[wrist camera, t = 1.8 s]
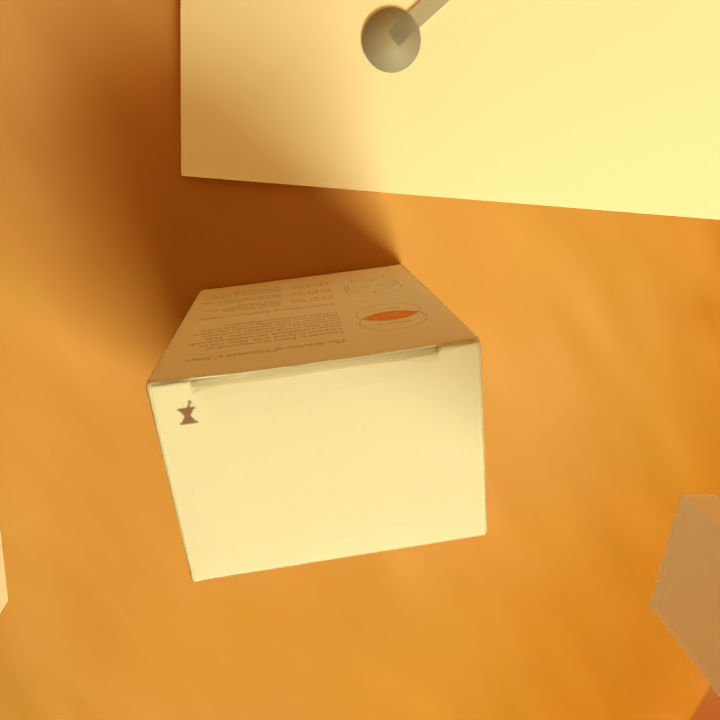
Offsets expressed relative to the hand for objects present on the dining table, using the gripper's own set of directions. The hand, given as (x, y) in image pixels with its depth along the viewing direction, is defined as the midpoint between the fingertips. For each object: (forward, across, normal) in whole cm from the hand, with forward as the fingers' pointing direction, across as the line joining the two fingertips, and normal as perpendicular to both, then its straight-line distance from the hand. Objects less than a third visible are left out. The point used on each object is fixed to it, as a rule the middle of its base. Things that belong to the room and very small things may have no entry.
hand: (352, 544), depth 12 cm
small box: (+14, 0, 0) cm, 14 cm away
